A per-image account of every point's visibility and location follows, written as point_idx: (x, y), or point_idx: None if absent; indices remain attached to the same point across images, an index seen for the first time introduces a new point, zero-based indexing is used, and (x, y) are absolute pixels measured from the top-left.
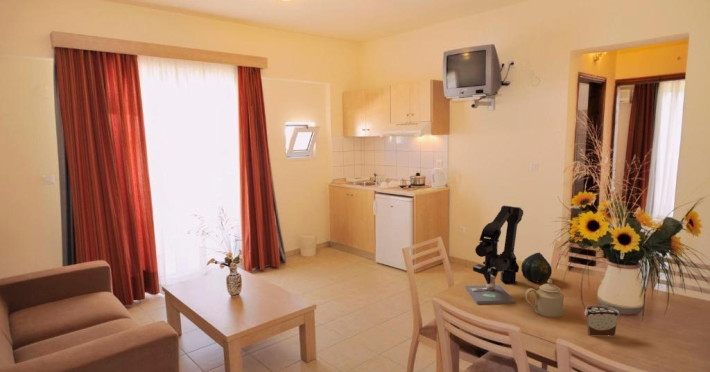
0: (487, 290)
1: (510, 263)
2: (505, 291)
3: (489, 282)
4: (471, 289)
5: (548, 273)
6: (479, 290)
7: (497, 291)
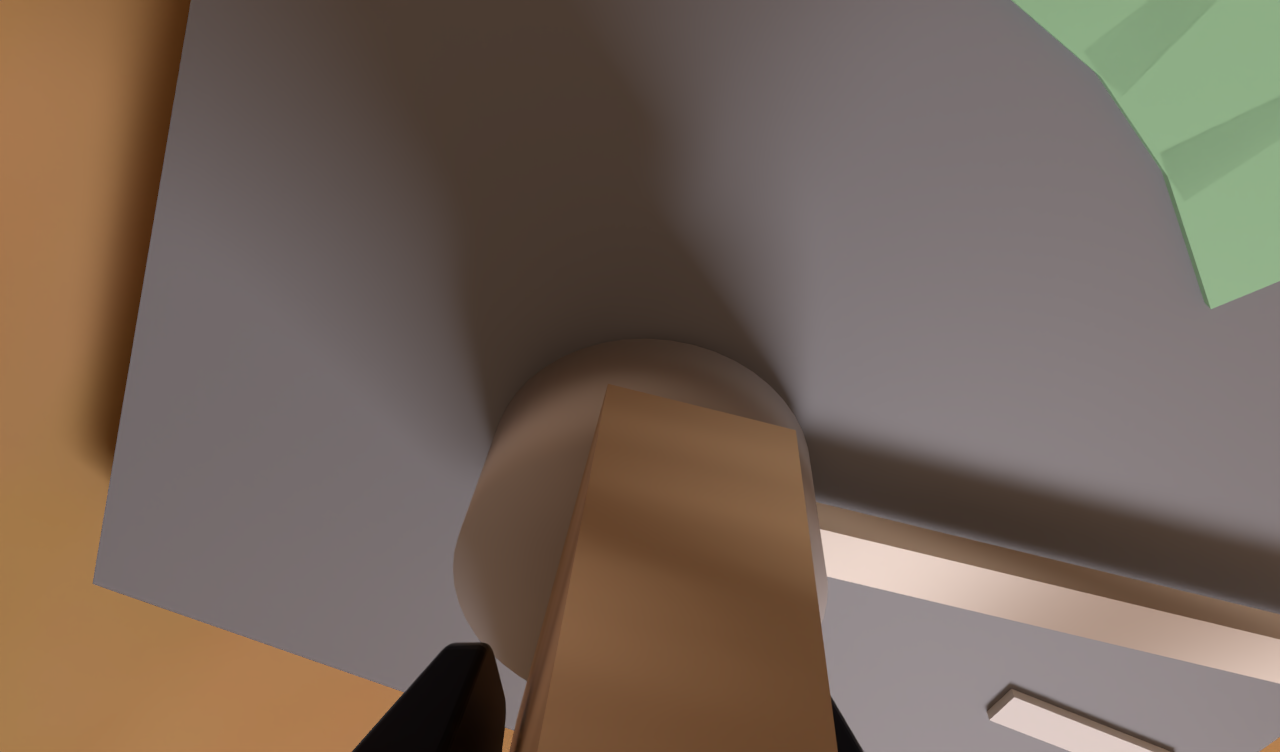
0: None
1: None
2: (198, 48)
3: None
4: (1163, 733)
5: None
6: None
7: (529, 225)
